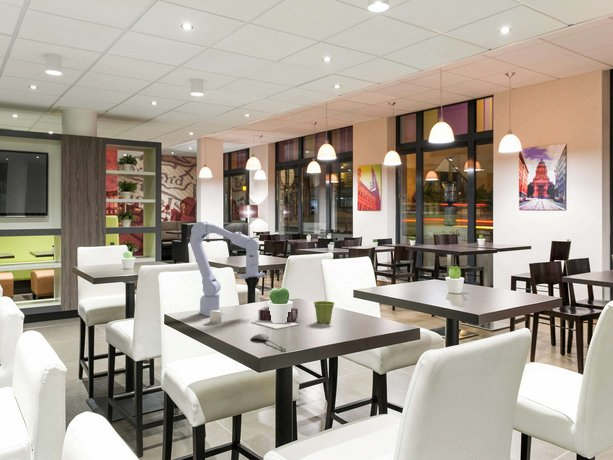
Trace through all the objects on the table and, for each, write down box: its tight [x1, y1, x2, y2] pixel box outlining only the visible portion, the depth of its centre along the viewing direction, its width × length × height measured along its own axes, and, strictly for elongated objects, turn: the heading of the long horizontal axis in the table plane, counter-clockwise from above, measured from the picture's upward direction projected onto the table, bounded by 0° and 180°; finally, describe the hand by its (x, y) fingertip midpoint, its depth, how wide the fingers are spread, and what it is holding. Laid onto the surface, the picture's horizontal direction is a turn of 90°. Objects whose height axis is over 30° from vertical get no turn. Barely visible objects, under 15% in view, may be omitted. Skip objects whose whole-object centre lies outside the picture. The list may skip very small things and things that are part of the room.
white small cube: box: [209, 309, 223, 324], centre depth 214 cm, size 5×5×5 cm
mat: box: [250, 319, 300, 330], centre depth 212 cm, size 17×13×1 cm
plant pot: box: [313, 300, 335, 324], centre depth 217 cm, size 9×9×9 cm
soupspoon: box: [250, 333, 287, 352], centre depth 178 cm, size 22×3×7 cm
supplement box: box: [258, 306, 299, 323], centre depth 219 cm, size 9×5×16 cm
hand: (251, 293), depth 229 cm, fingers closed
